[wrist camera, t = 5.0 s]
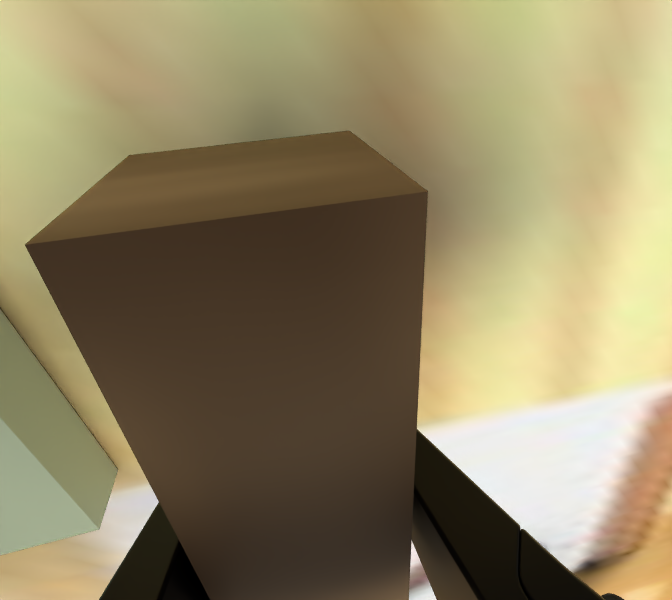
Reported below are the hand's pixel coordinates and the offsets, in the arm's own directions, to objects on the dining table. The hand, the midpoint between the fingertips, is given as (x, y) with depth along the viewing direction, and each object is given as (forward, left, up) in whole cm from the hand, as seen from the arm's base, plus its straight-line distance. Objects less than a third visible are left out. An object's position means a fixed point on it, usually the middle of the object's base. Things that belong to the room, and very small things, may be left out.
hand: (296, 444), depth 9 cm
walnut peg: (0, 0, -1) cm, 1 cm away
